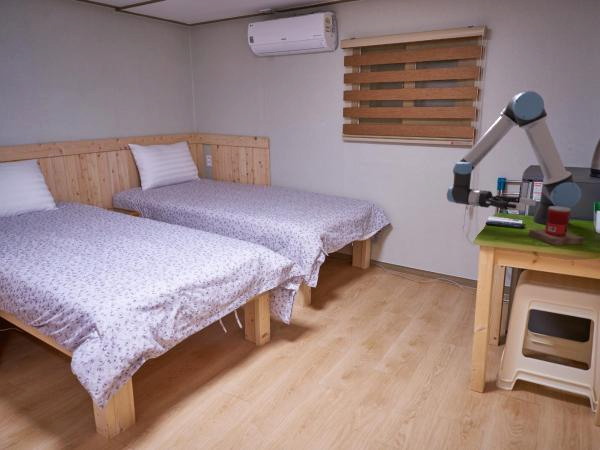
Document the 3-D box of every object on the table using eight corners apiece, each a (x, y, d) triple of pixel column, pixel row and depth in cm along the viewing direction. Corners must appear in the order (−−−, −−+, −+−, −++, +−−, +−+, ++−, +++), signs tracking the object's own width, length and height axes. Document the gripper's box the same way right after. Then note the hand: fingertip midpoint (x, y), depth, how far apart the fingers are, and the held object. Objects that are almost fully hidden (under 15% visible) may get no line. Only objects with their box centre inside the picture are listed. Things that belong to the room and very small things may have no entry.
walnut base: (557, 234, 199) (558, 228, 198) (582, 243, 186) (583, 237, 185) (528, 235, 196) (529, 230, 195) (552, 245, 183) (553, 239, 182)
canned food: (569, 237, 186) (573, 210, 183) (547, 235, 187) (552, 209, 185) (562, 232, 193) (567, 206, 190) (542, 230, 195) (546, 205, 192)
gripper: (490, 202, 220) (538, 209, 206) (468, 210, 202) (519, 218, 188) (492, 187, 218) (540, 192, 204) (470, 193, 200) (521, 200, 186)
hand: (530, 205), depth 196 cm, fingers open, 13 cm apart
